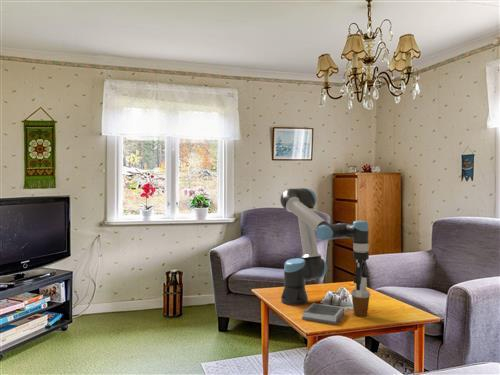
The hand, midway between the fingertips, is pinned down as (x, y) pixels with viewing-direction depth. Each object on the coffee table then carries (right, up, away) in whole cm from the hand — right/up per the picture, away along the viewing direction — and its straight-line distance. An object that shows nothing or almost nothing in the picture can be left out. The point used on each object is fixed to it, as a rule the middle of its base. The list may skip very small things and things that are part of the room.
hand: (361, 293), depth 204 cm
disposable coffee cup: (0, -11, +1) cm, 11 cm away
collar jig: (-19, -11, -2) cm, 23 cm away
